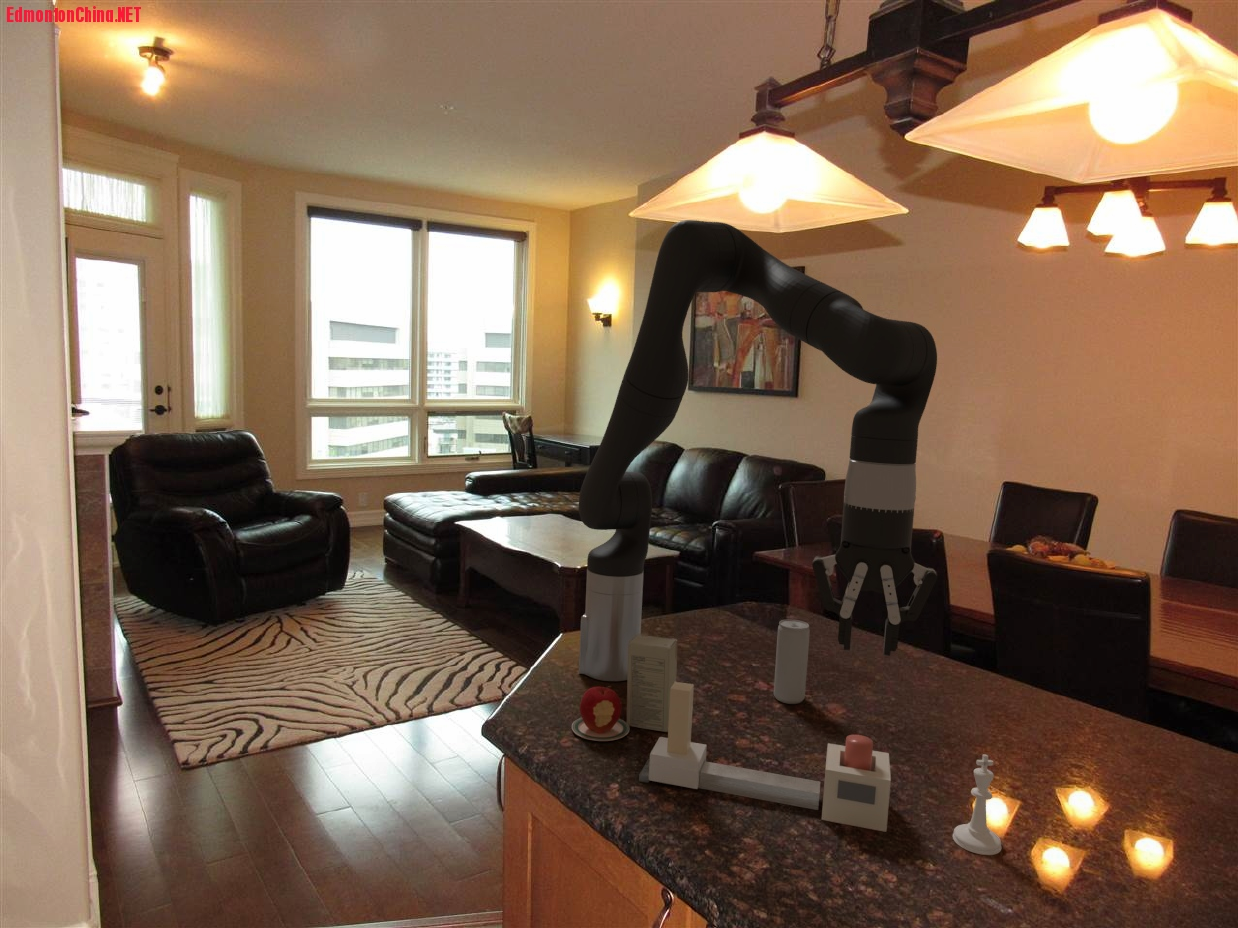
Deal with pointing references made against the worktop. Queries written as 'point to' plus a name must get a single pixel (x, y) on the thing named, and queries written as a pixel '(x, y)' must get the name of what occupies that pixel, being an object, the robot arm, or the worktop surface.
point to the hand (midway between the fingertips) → (866, 650)
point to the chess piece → (979, 816)
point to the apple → (600, 716)
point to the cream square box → (856, 791)
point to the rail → (754, 784)
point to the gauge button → (858, 752)
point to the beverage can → (791, 661)
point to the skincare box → (650, 681)
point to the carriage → (678, 744)
